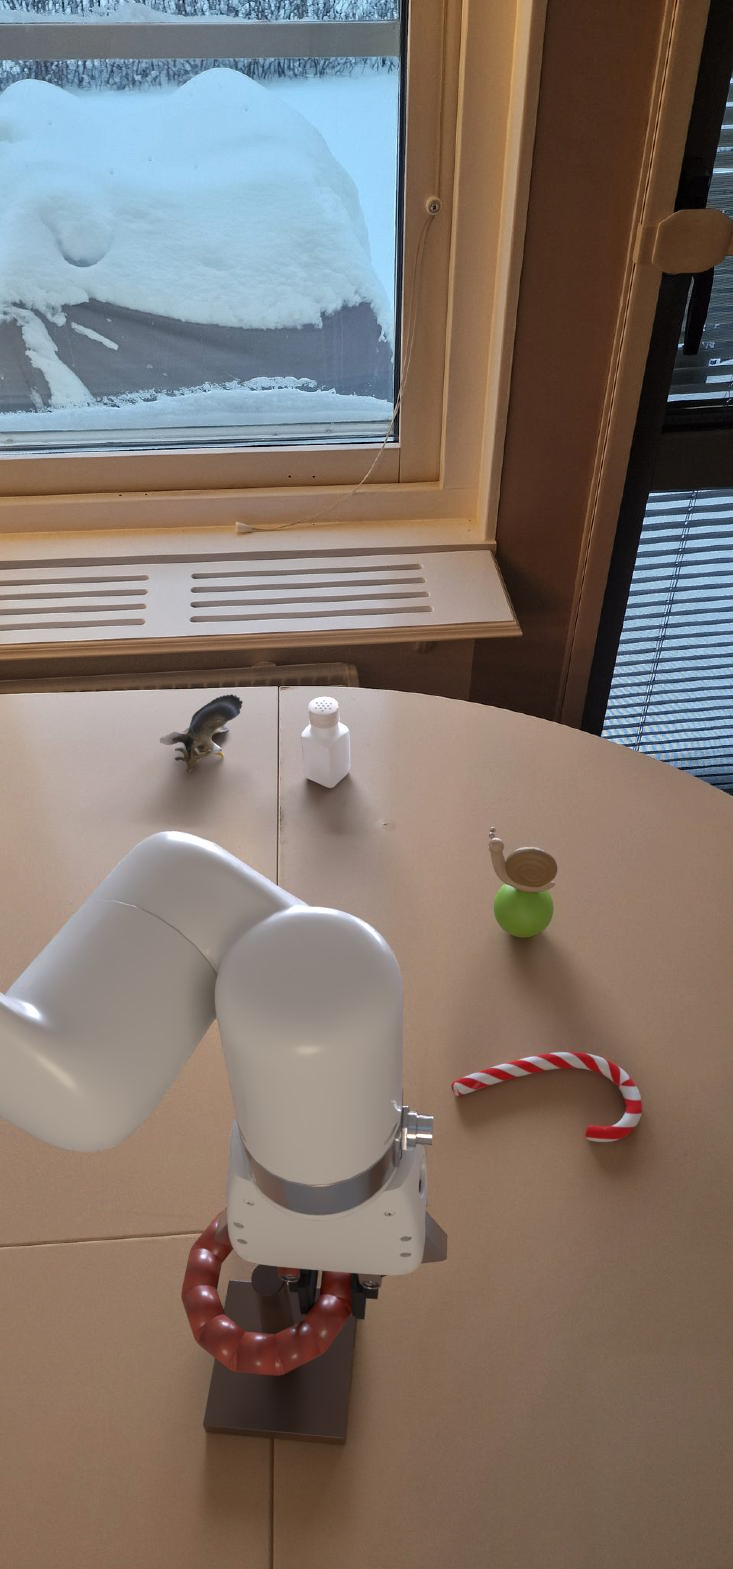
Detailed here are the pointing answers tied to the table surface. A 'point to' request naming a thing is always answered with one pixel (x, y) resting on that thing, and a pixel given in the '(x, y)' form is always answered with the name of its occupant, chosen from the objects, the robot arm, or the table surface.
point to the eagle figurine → (205, 729)
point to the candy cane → (565, 1061)
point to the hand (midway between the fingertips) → (335, 1289)
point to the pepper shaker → (325, 744)
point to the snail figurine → (523, 888)
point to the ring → (250, 1347)
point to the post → (289, 1402)
